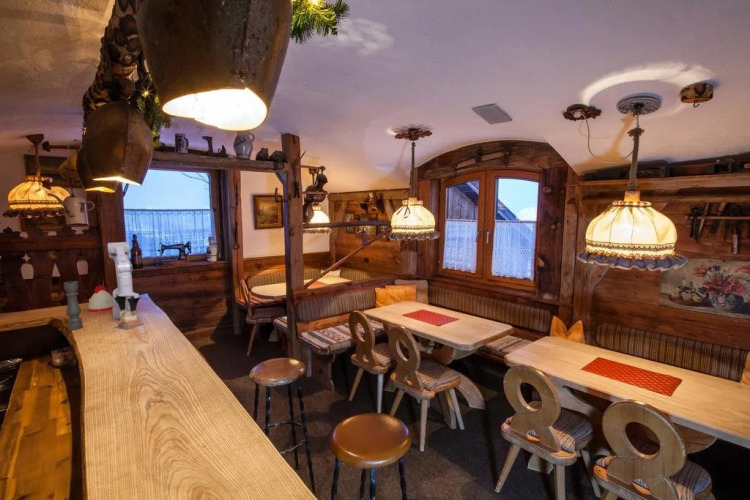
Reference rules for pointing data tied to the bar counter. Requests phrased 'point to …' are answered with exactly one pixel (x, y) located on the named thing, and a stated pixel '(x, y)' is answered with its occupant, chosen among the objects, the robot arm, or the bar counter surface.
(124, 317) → the ash brick
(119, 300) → the robot arm
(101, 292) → the white and red dome
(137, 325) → the base plate
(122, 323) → the terracotta brick
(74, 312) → the candle holder
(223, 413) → the bar counter surface
